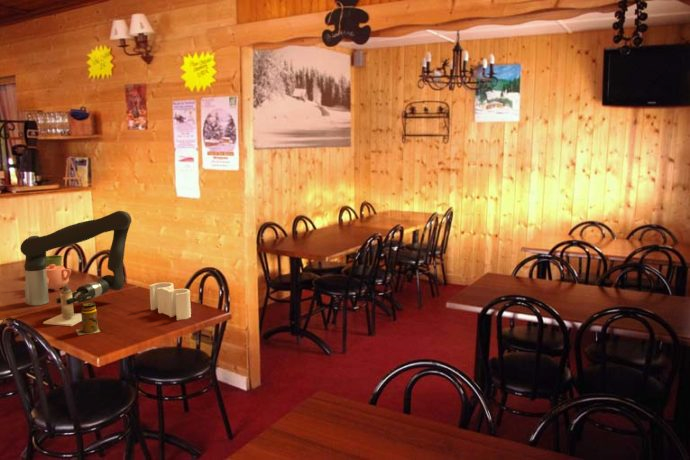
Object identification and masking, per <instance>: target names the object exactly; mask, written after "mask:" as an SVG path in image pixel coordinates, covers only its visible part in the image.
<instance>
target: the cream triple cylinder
mask: <svg viewBox="0 0 690 460" xmlns="http://www.w3.org/2000/svg"><path fill="white" fill-rule="evenodd" d="M149 302H150V303H149V304H150V310H151V311H155V310H156V309H157V311H158V314H164V315H167V316H169V318H173V317H175V316H176V321H180V320H187V319H190V318H191V317H192V308H191V290H190V289H188V288H176V289H175V288H174V283H173V282H157V283H156V282H155V283H153V284H149Z"/></svg>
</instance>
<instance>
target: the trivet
mask: <svg viewBox="0 0 690 460" xmlns="http://www.w3.org/2000/svg"><path fill="white" fill-rule="evenodd" d="M80 322H81V323H82V316H81V312H79V313H78V312H77V313H76V312H74V316H73V317H70V318H63V317H62V313H60V314H58V315H55V316H53V317H50V319H47V320H45V321H43V323H42V324H43V325H54V326H55V325H56V326H67V327H68V326H69V327H73V326H75V325H77V324H79V323H80Z"/></svg>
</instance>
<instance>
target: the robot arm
mask: <svg viewBox="0 0 690 460" xmlns="http://www.w3.org/2000/svg"><path fill="white" fill-rule="evenodd" d="M131 223H132V216H131V215H130V213H128V212H127V211H124V210H116V211H114V212H112V213H109V214H108V215H105V216H103V217H100V218H95V219H90V220H86V221H81V222H77V223H73V224H71V225H67V226H65V227H63V228H60V229H58V230H56V231H54V232H51V233H49V234H46V235H41V236H39V235H31V236H28V238H26V239H24V240H23V241H22V243H21V245H20V252H21V253H22V255H24V256H25V260H24V265H23V267H24V275H25V278H24V279H25V284H24V287H23V288H24V296H25V297H24V298H25V304H26V305H28V306H42V305H46V304H48V303H50V300H49V289H48V284H47V273H46V260H47V259H46V256H47V252H49V251H51V250H54V249H58V248H59V249H60V248H63V247H68V246H72V245H76V244H78V243H79V244H80V243H81V242H85V241H88V240H90V239H93V238H95V237H97V236H99V235H101V234H103V233H108V232H113V235H112V241H111V246H110V249H109V253H108V257H107V258H108V261H107V269H108V270H109V271H111V272H112V274H105V275H103V276H102V277H101V278H99V279H98V280H96V281H91V282H88V283H86V284H83V285H81V286H78V287H77V288H76V290H75V291H71V292H72V298H70V299H68V300H66V302H67V305H69V304H72V303H73V304H74V303H75V304H77V303H79V304H81V303H83V302H84V303H87V302H88V301H91V300H93V299H96V298H97V297H99V296H103V295H104V294H107V292H108V291H109V290H111V291H121V290H122V288H124V285H125V277H124V271H123V270H124V269H123V267H124V266H123V265H124V258H125V257H124V256H125V248H126V243H127V242H126V241H127V237H128V232H129V229H130V226H131ZM56 304H57V305H58V304H61V298H60V297H59V298H58V297H57V298H56Z"/></svg>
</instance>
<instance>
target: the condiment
mask: <svg viewBox="0 0 690 460" xmlns="http://www.w3.org/2000/svg"><path fill="white" fill-rule="evenodd" d="M80 314H81V316H82V321H81V327H82V328H79V329H75V331H76V334H77V335H78V336H83V335H88V334H90V335H91V334H95V333H100V332H101V330H100V328H99V326H98V310H97V309H96V302H84V303H82V304H81V312H80Z"/></svg>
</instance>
